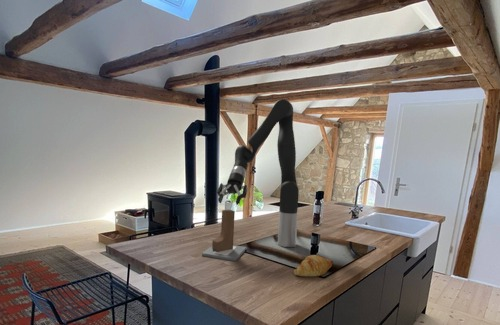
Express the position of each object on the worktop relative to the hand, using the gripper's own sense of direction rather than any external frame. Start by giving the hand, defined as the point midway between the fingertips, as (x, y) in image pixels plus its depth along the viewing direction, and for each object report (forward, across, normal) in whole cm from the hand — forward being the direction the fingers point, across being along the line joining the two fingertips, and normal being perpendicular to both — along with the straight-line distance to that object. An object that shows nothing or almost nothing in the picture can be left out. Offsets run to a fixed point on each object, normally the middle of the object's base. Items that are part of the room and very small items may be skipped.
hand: (228, 202), depth 134 cm
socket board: (+17, 0, +15) cm, 23 cm away
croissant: (+22, +40, +12) cm, 48 cm away
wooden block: (+16, -2, +14) cm, 22 cm away
